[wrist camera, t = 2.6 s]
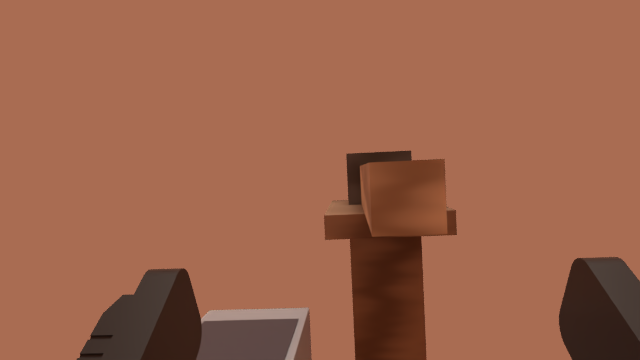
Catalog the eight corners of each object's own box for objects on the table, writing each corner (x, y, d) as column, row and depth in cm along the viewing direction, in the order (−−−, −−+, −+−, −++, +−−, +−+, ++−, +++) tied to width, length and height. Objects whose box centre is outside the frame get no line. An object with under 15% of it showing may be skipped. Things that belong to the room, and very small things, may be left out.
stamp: (404, 197, 43) (402, 153, 43) (472, 233, 19) (468, 132, 19) (348, 200, 43) (347, 156, 43) (347, 237, 19) (343, 139, 19)
